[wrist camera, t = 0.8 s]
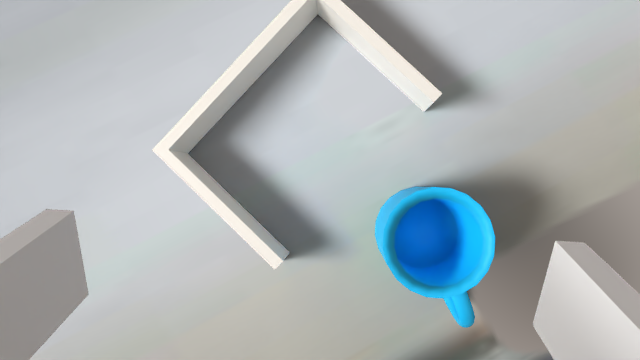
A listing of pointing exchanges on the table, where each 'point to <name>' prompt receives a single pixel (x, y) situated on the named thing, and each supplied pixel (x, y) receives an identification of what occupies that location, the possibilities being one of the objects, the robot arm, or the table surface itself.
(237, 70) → the box
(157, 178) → the table surface
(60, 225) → the robot arm
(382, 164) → the table surface
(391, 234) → the mug
